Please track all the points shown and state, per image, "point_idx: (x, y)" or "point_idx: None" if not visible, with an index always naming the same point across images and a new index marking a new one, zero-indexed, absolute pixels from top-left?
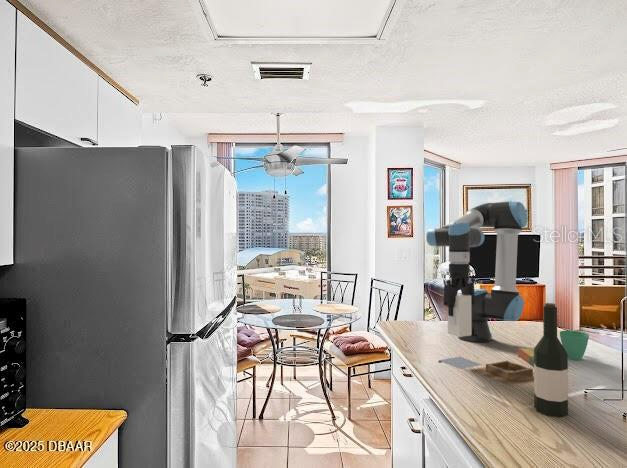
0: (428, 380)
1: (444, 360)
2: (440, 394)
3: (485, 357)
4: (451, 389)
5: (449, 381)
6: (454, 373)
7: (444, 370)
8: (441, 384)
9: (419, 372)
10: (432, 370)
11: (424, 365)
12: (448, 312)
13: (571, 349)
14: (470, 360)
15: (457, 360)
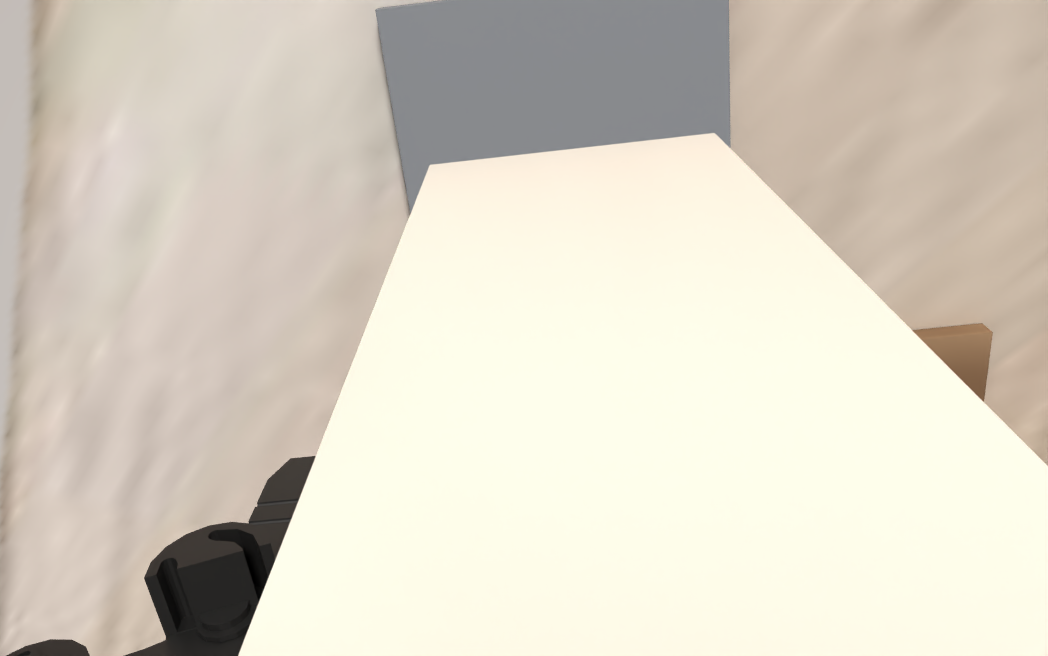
0: (32, 427)
1: (440, 42)
2: (17, 649)
3: (1042, 28)
4: (134, 609)
5: (199, 492)
6: (346, 358)
7: (298, 262)
8: (104, 521)
9: (23, 235)
10: (179, 225)
11: (163, 53)
12: (257, 519)
13: None
14: (727, 144)
15: (587, 94)
